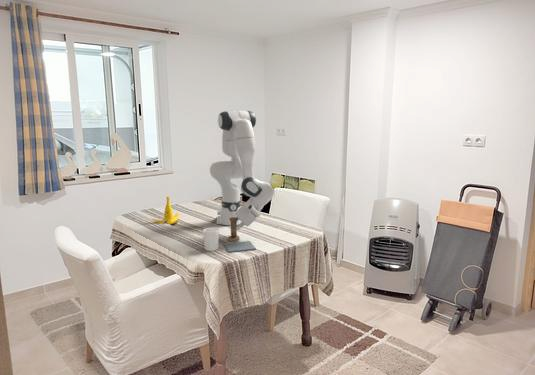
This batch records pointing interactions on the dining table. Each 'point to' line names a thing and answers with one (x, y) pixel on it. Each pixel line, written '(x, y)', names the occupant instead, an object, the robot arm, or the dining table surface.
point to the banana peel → (168, 214)
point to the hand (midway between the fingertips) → (234, 226)
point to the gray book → (239, 246)
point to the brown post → (233, 230)
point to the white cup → (211, 238)
